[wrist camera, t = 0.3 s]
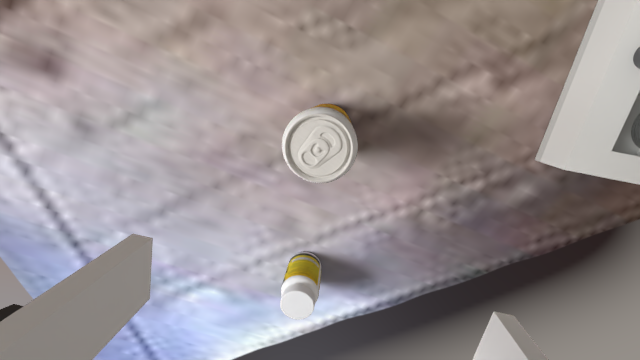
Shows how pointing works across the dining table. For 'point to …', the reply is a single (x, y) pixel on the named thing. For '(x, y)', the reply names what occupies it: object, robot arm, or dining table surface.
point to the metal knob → (636, 131)
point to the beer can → (320, 144)
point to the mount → (600, 99)
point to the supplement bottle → (301, 285)
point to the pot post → (637, 58)
